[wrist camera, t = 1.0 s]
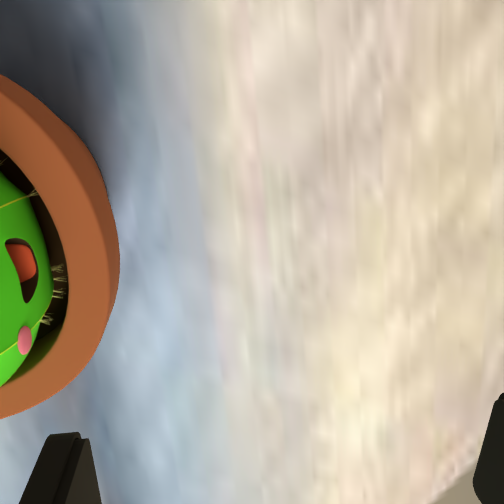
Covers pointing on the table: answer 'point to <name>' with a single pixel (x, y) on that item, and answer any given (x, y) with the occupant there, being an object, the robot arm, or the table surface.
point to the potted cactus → (49, 252)
